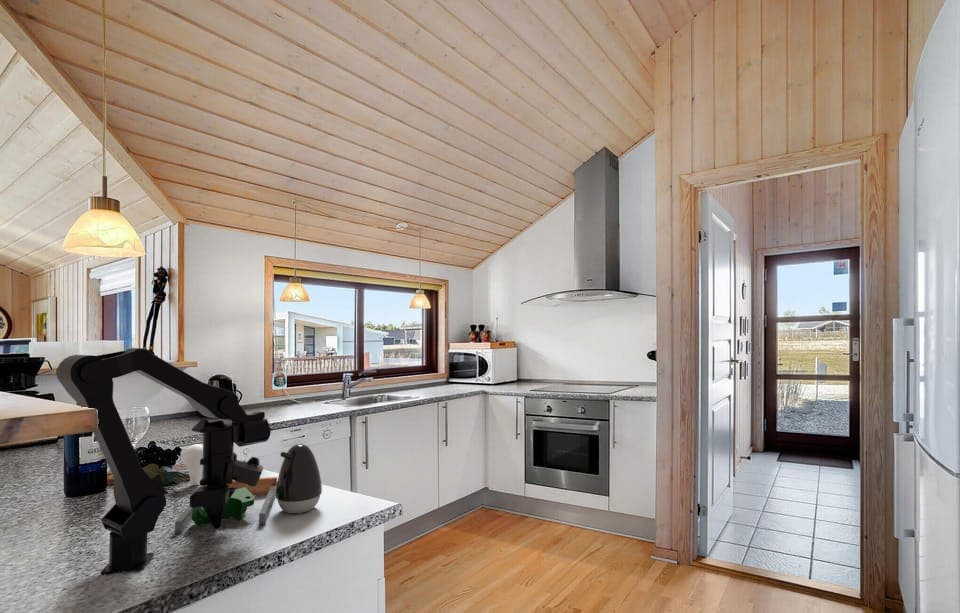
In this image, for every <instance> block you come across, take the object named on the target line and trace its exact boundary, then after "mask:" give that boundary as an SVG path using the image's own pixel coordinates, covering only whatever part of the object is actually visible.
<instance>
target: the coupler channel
mask: <svg viewBox="0 0 960 613" xmlns="http://www.w3.org/2000/svg"><path fill="white" fill-rule="evenodd" d="M277 481H278V476H273V477H271V476H270V477H260V478H259V481H258V483H257V485H256V486H254V487H253V486H249V485H248V484H245V483H241V482H237V481H234V480H233V483H232V484H228V485H229V488H236V489H240V488H244V487H245V488H246V489H247V490H249V491H250V492H251V493H252V494H253V495H254V496H255V497H257V496H265V495H266V496H265V499H264V502H263V504H262V506H261V509H260V511H259V513H258V526H259V527H261V526H266V524H267V521H268V519H269V518H268V517H269V515H270V513H271V510H272V508H273V505H274V502H275V499H276V487H277ZM204 486H207V485H202V486H201V487H204ZM192 511H193V508H191V507H190V504H188V506H187V507H186V508H185V510H184V511H183V512H182V513H181V514H180V515H179V517H178V518H176V520H175V521H174V535H178V534H179V535H180V534H183V532H184V531H185V530H186V529H187V526H189V524H190V522H192V521H193V520H192Z"/></svg>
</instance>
